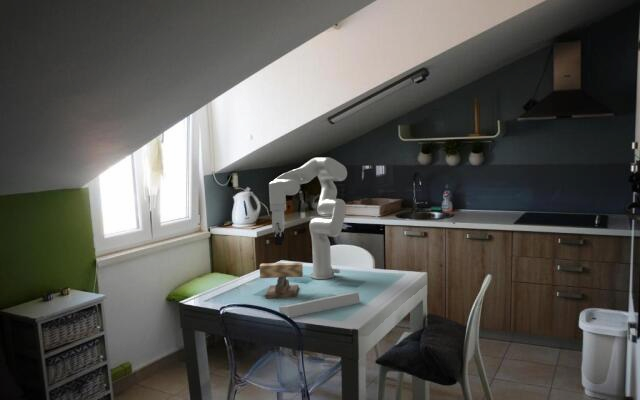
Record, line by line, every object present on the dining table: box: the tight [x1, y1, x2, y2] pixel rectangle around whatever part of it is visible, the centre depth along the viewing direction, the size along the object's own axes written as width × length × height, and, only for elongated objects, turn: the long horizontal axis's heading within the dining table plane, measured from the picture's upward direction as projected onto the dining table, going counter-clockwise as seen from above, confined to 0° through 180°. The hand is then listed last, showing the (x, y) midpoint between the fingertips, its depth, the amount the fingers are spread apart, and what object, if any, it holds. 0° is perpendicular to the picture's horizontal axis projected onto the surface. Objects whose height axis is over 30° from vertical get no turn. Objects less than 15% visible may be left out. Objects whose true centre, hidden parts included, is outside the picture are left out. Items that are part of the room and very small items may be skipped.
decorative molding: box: [278, 292, 361, 318], centre depth 225 cm, size 34×5×10 cm
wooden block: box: [259, 261, 304, 279], centre depth 248 cm, size 20×4×6 cm, turn 87°
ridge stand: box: [264, 277, 300, 299], centre depth 249 cm, size 14×16×8 cm
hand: (280, 243), depth 246 cm, fingers open, 9 cm apart
